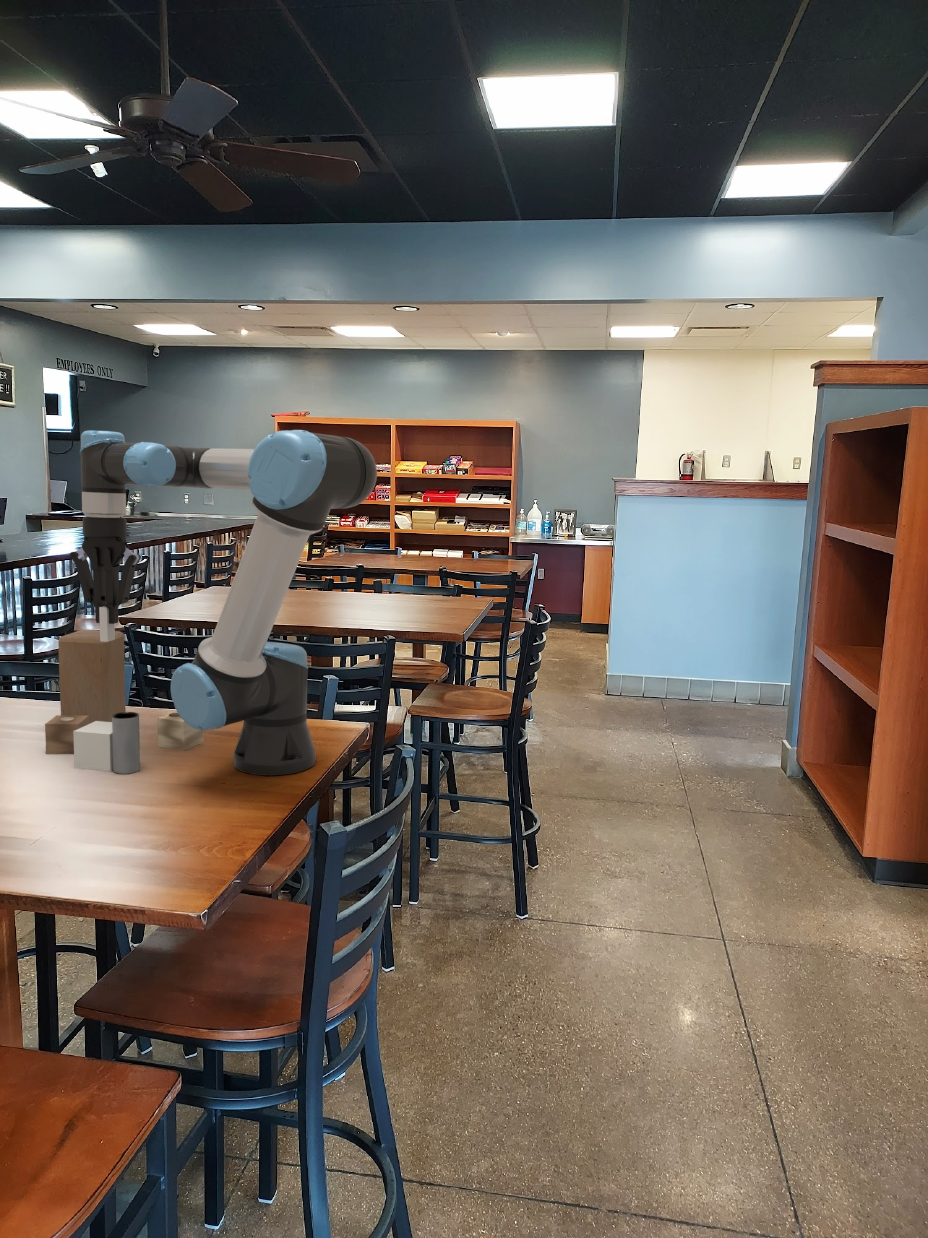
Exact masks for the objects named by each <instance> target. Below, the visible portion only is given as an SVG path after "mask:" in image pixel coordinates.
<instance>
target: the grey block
mask: <svg viewBox="0 0 928 1238" xmlns="http://www.w3.org/2000/svg"><path fill="white" fill-rule="evenodd" d="M73 734H74V754H73V757H74V758H73V760H74V761H73V762H74V769H81V770H89V771H91V770H92V771H103V772H113V742H112V722H103V721H95V722H93V723H90V724H88V725H86V726H84V727H82V728H79V729H77V730H75V731H73Z"/></svg>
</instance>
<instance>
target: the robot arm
mask: <svg viewBox="0 0 928 1238" xmlns="http://www.w3.org/2000/svg"><path fill="white" fill-rule="evenodd" d="M79 456H80V459H79V460H80V477H81V513H82V514H85V516H83V518H82V535H83V538H84V539H83V541H82V544H81V547H80V548H79V549H77V550H76V551H71V552H70V553H69V556H70V558H71V561H73V563H74V565H75V569H76V573H77V576H78V581H79V584H80V587H81V591H82V596H83V599H84V602H85V603H89V604H91V605H93V607H94V612H95V614H94V615H95V623H96V624H99V630H100V641H103V642H109V641H112V640H115V631H116V628H115V627H116V624H117V623H119V618H120V617H119V615H120V614H119V607H120V606H121V605H124V604H126V603H129V600H130V596H131V595H130V594H131V591H132V585H133V581H134V577H135V573H136V567H137V566H138V563H139V562H140V561H141V559H142V557H141V554H139V553H135V552H133V551H132V550H131V549H130V547H129V544H128V542H127V535H128V534H127V533H128V531H127V529H128V527H127V523H128V522H127V519H126V518H125V517H124V516H125V515H126V514H127V495H126V494H127V489H126V486H128V485H129V486H131V485H132V486H142V487H146V488H147V487H151V488H152V487H174V488H175V487H179V488H182V487H183V488H197V489H198V488H199V489H208V490H210V489H218V490H219V489H220V490H223V489H224V490H238V491H250V492H251V493H252V494H251V495H252V496H253V498H252V501H251V504H252V506H253V508H254V510H255V512H256V514H257V516H256V519H255V522H254V523H253V527H252V529H251V532H250V534H249V538H248V540H247V543H246V546H245V548H244V551H243V554H242V556H241V559H240V561H239V564H238V567H237V570H236V572H235V574H234V578H233V580H232V583H231V586H230V589H229V591H228V594H227V597H226V599H225V602H224V605H223V607H222V611H221V612H220V615H219V618H218V621H217V623H216V626H215V629H214V632H213V635H212V636H210V637H207V638H205V639H203V640H202V641H201V642H200V643H199V645H198V648H197V651H196V653H195V656H194V658H193V661H191V663H190V662H187V663H184V664H182V665H180V666H179V667H177V668H176V669H175V670H174V671H173V673H172V676H171V680H170V695H171V699H172V702H173V705H174V709H175V711H177V712H178V714H179V715H180V717H181V718H182V719H183V720H184V722H186V723H187V724H188V725H189V726H191V727H192V728H194V729H197V730H202V731H209V730H214V729H216V730H217V729H222V728H223V727H227V726H229V725H233V724H236V723H239V722H242V721H243V724H242V728H241V730H240V733H239V737H238V739H237V742H236V745H235V749H234V753H233V766H234V767H235V769H237V770H239V771H240V772H243V773H247V774H250V775H251V774H252V775H257V776H282V775H283V776H285V775H290V774H295V773H300V772H303V771H306V770H308V769H310V768H312V767H313V766H314V765H315V764H316V753H317V751H316V748H315V744H314V741H313V739H312V736H311V732H310V729H309V726H308V722H307V721H308V720H307V716H308V715H307V711H308V710H307V709H308V708H307V707H308V672H309V671H308V670H309V666H308V654H307V651H306V650H305V649H304V647H302V646H300V645H296V644H293V643H292V644H291V643H285V642H284V643H283V642H275V641H268V639H269V637H270V636H271V633H272V630H273V627H274V624H275V622H276V620H277V617H278V614H279V612H280V610H281V608H282V604H283V603H284V600H285V597H286V596H287V595H286V594H287V592H288V590H289V587H290V585H291V582H292V581H293V577H294V575H295V573H296V570H297V567H298V566H299V562H300V560H301V558H302V554H303V553H304V550H305V547H306V545H307V543H308V540H309V538H310V536H311V535H313V534H316V533H319V532H321V531H322V530H324V526H325V524H326V521H327V520H328V517H329V514H330V512H331V510H334V509H335V510H336V509H339V510H341V509H349V508H353V507H356V506H358V505H360V504H362V503H363V502H365V500H367V499H368V498H369V496H371V494H372V492H373V490H374V488H375V487H376V484H377V483H376V482H377V480H378V478H377V477H378V469H377V464H376V462H375V461H376V460H375V458H374V456H373V455H372V453H371V451H370V450H369V449H368V448H367V447H366V446H365V445H364V444H362V442H359V441H358V440H356V439H353V438H351V437H346V436H341V435H333V434H324V433H316V432H309V430H304V429H303V430H302V429H291V430H279V431H275V432H272V433H270V434H268V435H267V436H266V437H264V438H263V439H262V440H261V441H260V442H258V444H257V445H256V447H254V448H220V447H219V448H212V447H211V448H210V447H190V446H189V447H188V446H179V445H178V446H177V445H166V444H161V443H157V442H150V441H149V442H148V441H141V442H126V439H125V435H124V434H123V433H122V432H119V431H118V432H117V431H109V430H85V431H83V432H82V433H81V435H80V450H79ZM88 559H89V561H90V563H89V561H88ZM122 560H123V561H124V564H123V566H122V571H121V575H120V569H121V561H122Z"/></svg>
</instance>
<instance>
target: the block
mask: <svg viewBox="0 0 928 1238" xmlns="http://www.w3.org/2000/svg"><path fill="white" fill-rule="evenodd" d="M57 644H58V672H59V673H58V674H59V675H58V676H59V699H60V715H74V716H89V724H90V723H93V722H95V721H103V722H112V715H114V714H116V713H121V712H127V711H126V676H125V673H126V671H125V668H126V667H125V635H124V632H122V631H120V630H115V640H112V641H109V642H103V641H100V629H99V630H95V629H80V630H78V631H77V630H76V631H73V632H70V633H68V634H65V635H62V636H59V638H58V640H57Z"/></svg>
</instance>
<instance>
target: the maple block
mask: <svg viewBox="0 0 928 1238" xmlns="http://www.w3.org/2000/svg"><path fill="white" fill-rule="evenodd" d="M202 743H203V730H197V729H194V728H192V727H191V726H189V725H188V724H187V723H186V722H184V720H183V719H182V718H181V717H180V715H179V714H178V712H177V710H175V711H172V712H169V713H168V714H165V715H162V716H159V717H157V747H158V748H163V749H169V750H176V751H181V752H184V751H187V750H188V749H191V748H194V747H195V746H197V745H200V744H202Z"/></svg>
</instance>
